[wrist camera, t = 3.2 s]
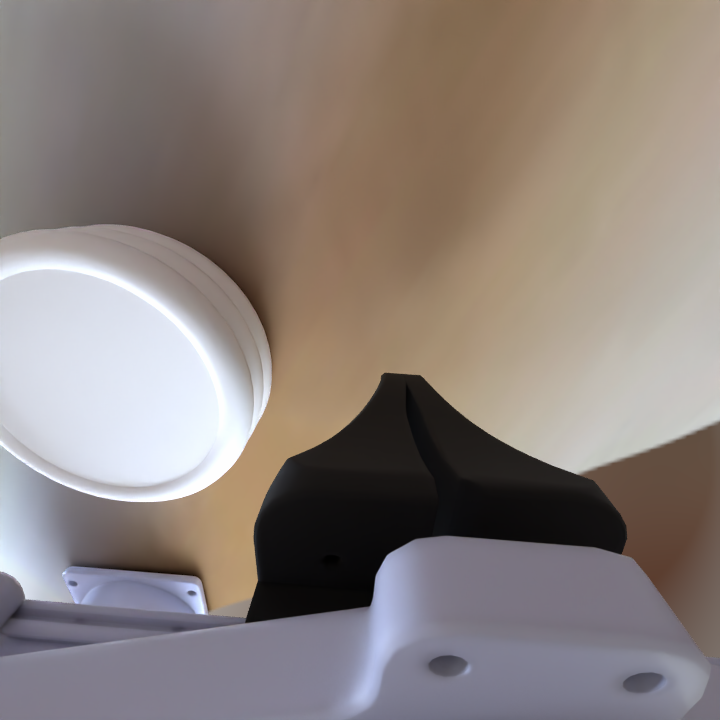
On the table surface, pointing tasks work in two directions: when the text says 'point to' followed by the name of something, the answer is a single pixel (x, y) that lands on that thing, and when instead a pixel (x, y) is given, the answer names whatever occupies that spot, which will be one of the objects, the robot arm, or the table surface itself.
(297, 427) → the table surface
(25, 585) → the table surface
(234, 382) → the white round dish
